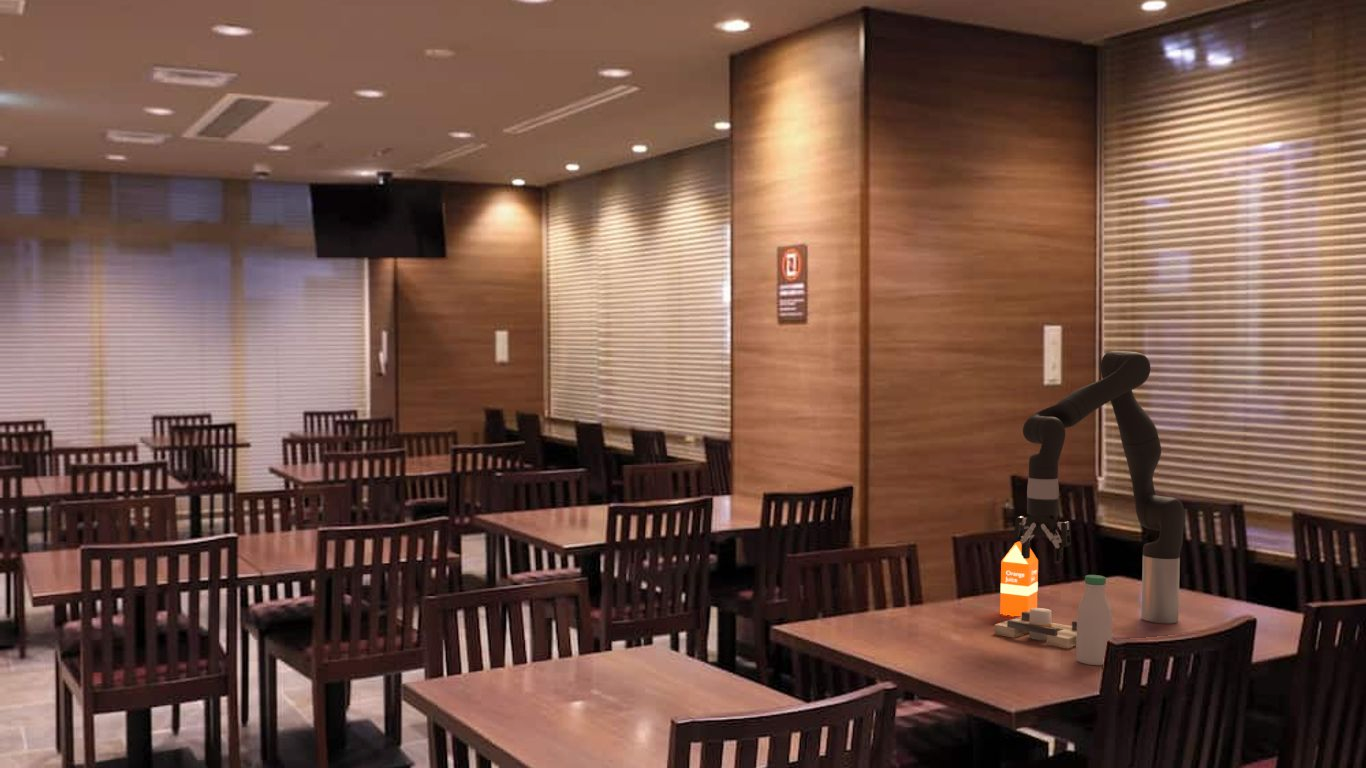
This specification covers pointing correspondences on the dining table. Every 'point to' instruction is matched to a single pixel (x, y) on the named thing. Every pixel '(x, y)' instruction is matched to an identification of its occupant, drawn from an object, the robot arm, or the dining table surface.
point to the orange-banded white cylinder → (1040, 621)
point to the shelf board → (1039, 630)
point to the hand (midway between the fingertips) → (1041, 560)
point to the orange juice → (1018, 582)
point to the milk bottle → (1093, 622)
